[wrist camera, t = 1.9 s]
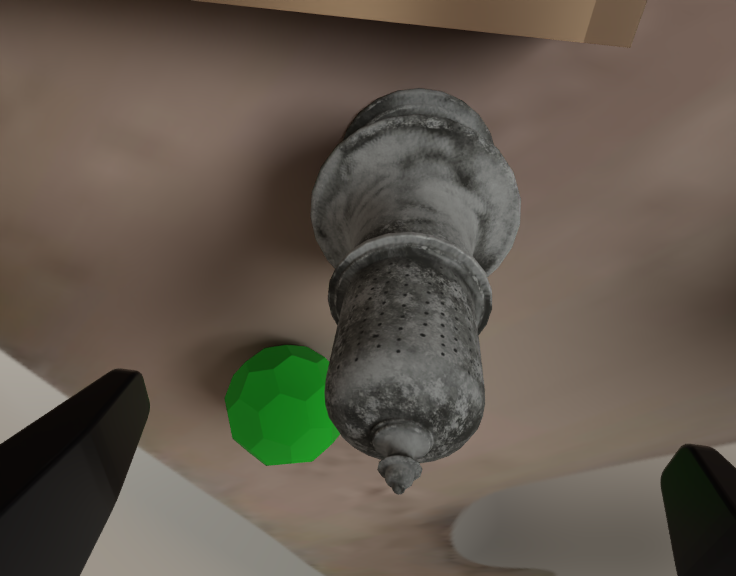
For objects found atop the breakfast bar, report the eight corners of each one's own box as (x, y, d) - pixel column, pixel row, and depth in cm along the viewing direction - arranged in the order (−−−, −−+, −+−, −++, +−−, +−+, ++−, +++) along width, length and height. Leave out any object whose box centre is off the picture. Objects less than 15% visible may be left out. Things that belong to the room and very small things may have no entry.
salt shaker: (351, 53, 15) (218, 293, 6) (536, 108, 16) (704, 418, 6) (315, 220, 19) (194, 542, 9) (467, 261, 19) (505, 611, 10)
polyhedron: (239, 317, 22) (198, 402, 18) (353, 327, 22) (336, 416, 18) (251, 396, 25) (218, 484, 21) (351, 406, 25) (336, 497, 21)
